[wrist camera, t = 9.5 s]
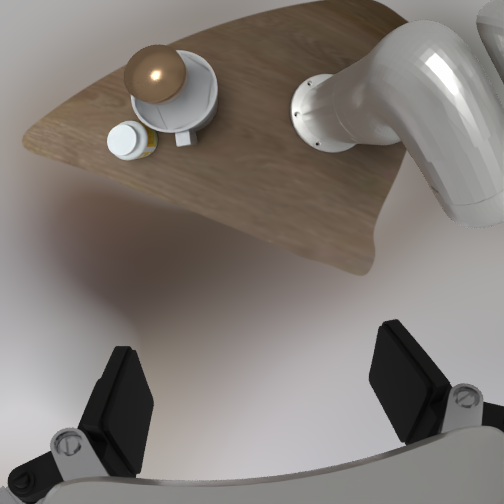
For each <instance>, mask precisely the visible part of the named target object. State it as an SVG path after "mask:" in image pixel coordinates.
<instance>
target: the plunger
mask: <svg viewBox="0 0 504 504" xmlns="http://www.w3.org/2000/svg"><path fill="white" fill-rule="evenodd" d="M188 78H189V75H188V69H187V67H186V65H185V63H184V62H183V60H182V58H181V56H180V55H179V53H178V52H177V51H176V50H174V49H173V48H171V47H169V46H165V45H151V46H148V47H145V48H143V49H141V50H140V51H138V52H137V53H136V54H135V55H133V56H132V58H131V59H130V60H129V62H128V64H127V65H126V68H125V72H124V83H125V86H126V88H127V90H128V92H129V93H130V94H131V95H132V96H134V97H135V98H137V99H139V100H141V101H143V102H146V103H148V104H151V105H165V104H168V103H171V102H173V101H174V100H176V99H177V98H178V97H179V96H180V95H181V94H182V93H183V92H184V90H185V88H186V86H187V84H188Z"/></svg>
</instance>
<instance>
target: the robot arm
mask: <svg viewBox="0 0 504 504" xmlns="http://www.w3.org/2000/svg"><path fill="white" fill-rule="evenodd" d="M476 24H477V29H478V32H479V35H480V38H481V40H482V42H483V44H484V46H485V48H486V50H487V52H488V54H489V56H490V58H491V60H492V62H493V64H494V66H495V68H496V70H497V72H498V73H499V76H500V78H501V80H502V81H503V84H504V0H491V1H490V2H488V3H487V4H485V5H484V6H483V8H482V9H481V10H480V11H479V13H478V15H477V19H476ZM307 83H309V84H310V86H308V85H307ZM294 114H297V116H296V117H295V116H294ZM290 118H291V121H292V125H293V127H294V129H295V131H296V133H297V134H298V135H299V137H300V138H301V139H302V140H303V141H304V142H305V143H306V144H308V145H309V146H311V147H313V148H315V149H317V150H320V151H324V152H331V153H334V152H342V151H345V150H348V149H350V148H352V147H353V146H354V145H356V144H371V145H390V144H394V143H397V142H399V141H402V142H403V144H404V146H405V147H406V149H407V150H408V152H409V153H410V155H411V156H412V158H413V159H414V160H415V162H416V163H417V165H418V167H419V168H420V170H421V172H422V174H423V175H424V177H425V179H426V180H427V182H428V184H429V186H430V188H431V190H432V191H433V193H434V195H435V197H436V198H437V200H438V202H439V204H440V205H441V207H442V209H443V210H444V212H445V213H446V214H447V216H448V217H449V218H450V219H451V220H453V221H454V222H455V223H457V224H459V225H461V226H464V227H468V228H485V227H490V226H494V225H497V224H500V223H503V222H504V109H503V107H502V105H501V102H500V100H499V98H498V96H497V94H496V92H495V90H494V88H493V86H492V84H491V82H490V80H489V78H488V76H487V75H486V73H485V71H484V69H483V68H482V66H481V64H480V63H479V61H478V60H477V58H476V57H475V55H474V54H473V52H472V51H471V50H470V49H469V47H468V46H467V45H466V43H465V42H464V41H463V40H462V39H461V38H460V37H459V36H458V35H457V34H456V33H454V32H453V31H452V30H450V29H449V28H448V27H446V26H444V25H443V24H441V23H438V22H435V21H431V20H417V21H412V22H409V23H406V24H404V25H402V26H400V27H398V28H396V29H395V30H393V31H392V32H390V33H389V34H388V35H387V36H385V37H384V38H383V39H382V40H381V41H380V42H379V43H378V44H377V45H376V46H375V47H374V48H373V50H372V51H371V52H370V53H369V54H368V55H366V56H365V57H364V58H362V59H361V60H359V61H358V62H356V63H354V64H352V65H351V66H349V67H347V68H345V69H344V70H342V71H340V72H338V73H337V74H335V75H333V74H320V75H316V76H313V77H310V78H309V79H307V80H305V81H304V82H303V83H301V84H300V86H299V87H298V88H297V89H296V91H295V92H294V94H293V96H292V99H291V102H290ZM316 142H317V143H318V145H317V146H316ZM369 382H370V385H371V386H372V388H373V390H374V392H375V393H376V396H377V398H378V399H379V401H380V403H381V405H382V407H383V409H384V411H385V413H386V415H387V416H388V418H389V420H390V422H391V424H392V426H393V428H394V430H395V432H396V434H397V436H398V438H399V439H400V441H401V442H405V444H406V446H403V447H400V448H397V449H394V450H391V451H388V452H385V453H381V454H378V455H375V456H371V457H367V458H364V459H360V460H357V461H352V462H348V463H344V464H340V465H336V466H331V467H326V468H321V469H316V470H311V471H305V472H298V473H293V474H285V475H278V476H269V477H260V478H249V479H235V480H212V481H185V480H157V479H141V478H136V474H139V473H140V472H141V468H142V462H143V457H144V451H145V446H146V441H147V436H148V431H149V426H150V421H151V416H152V411H153V406H154V401H153V397H152V394H151V392H150V389H149V386H148V384H147V381H146V378H145V375H144V373H143V370H142V367H141V364H140V361H139V358H138V355H137V352H136V350H132V349H131V347H130V346H116V347H115V348H114V350H113V352H112V355H111V357H110V359H109V361H108V363H107V366H106V368H105V370H104V372H103V375H102V377H101V378H100V379H98V381H97V382H96V385H95V387H94V389H93V391H92V394H91V396H90V398H89V401H88V403H87V406H86V408H85V410H84V413H83V415H82V418H81V420H80V423H79V426H78V428H77V429H76V428H65V429H62V430H60V431H58V432H57V433H56V434H55V435H54V436H53V438H52V440H51V443H50V447H51V451H49V452H47V453H45V454H43V455H41V456H39V457H37V458H35V459H33V460H31V461H29V462H27V463H25V464H23V465H20V466H18V467H16V468H15V469H13V470H12V472H11V473H10V474H9V477H8V487H6V488H5V487H4V486H2V487H1V488H0V504H504V406H500V405H496V404H491V403H487V402H483V395H482V393H481V391H479V389H478V388H476V387H475V386H473V385H470V384H458V385H456V386H454V387H452V386H451V384H450V382H449V381H448V379H447V378H446V377H445V376H444V374H443V373H442V372H441V370H440V369H439V368H438V367H437V365H436V364H435V363H434V362H433V361H432V359H431V358H430V357H429V356H428V355H427V353H426V352H425V351H424V350H423V349H422V347H421V346H420V345H419V344H418V343H417V341H416V340H415V339H414V338H413V336H412V335H411V334H410V333H409V332H408V331H407V329H406V328H405V327H404V326H403V325H402V324H401V323H400V321H399V320H397V319H395V320H389V321H385V322H383V324H382V326H380V327H379V329H378V334H377V339H376V344H375V349H374V355H373V359H372V364H371V368H370V373H369Z"/></svg>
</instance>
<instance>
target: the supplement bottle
mask: <svg viewBox="0 0 504 504" xmlns="http://www.w3.org/2000/svg"><path fill="white" fill-rule="evenodd" d="M157 142H158V138H157V133H156V131H155V130H154V129H152V128H150V127H148V126H147V125H145V124H144V123H140V122H136V121H125V122H122V123H120V124H119V125H118V126H116V127H114V128H113V129H112V130H111V131H110V133H109V135H108V139H107V144H108V148H109V149H110V151H111V152H112V153H113V154H115V155H116V156H117V157H118V158H120V159H123V160H133V159H139V158H144V157H147V156H149V155H150V154H151V153H152V152H153V151H154V150H155V148H156V146H157Z"/></svg>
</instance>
